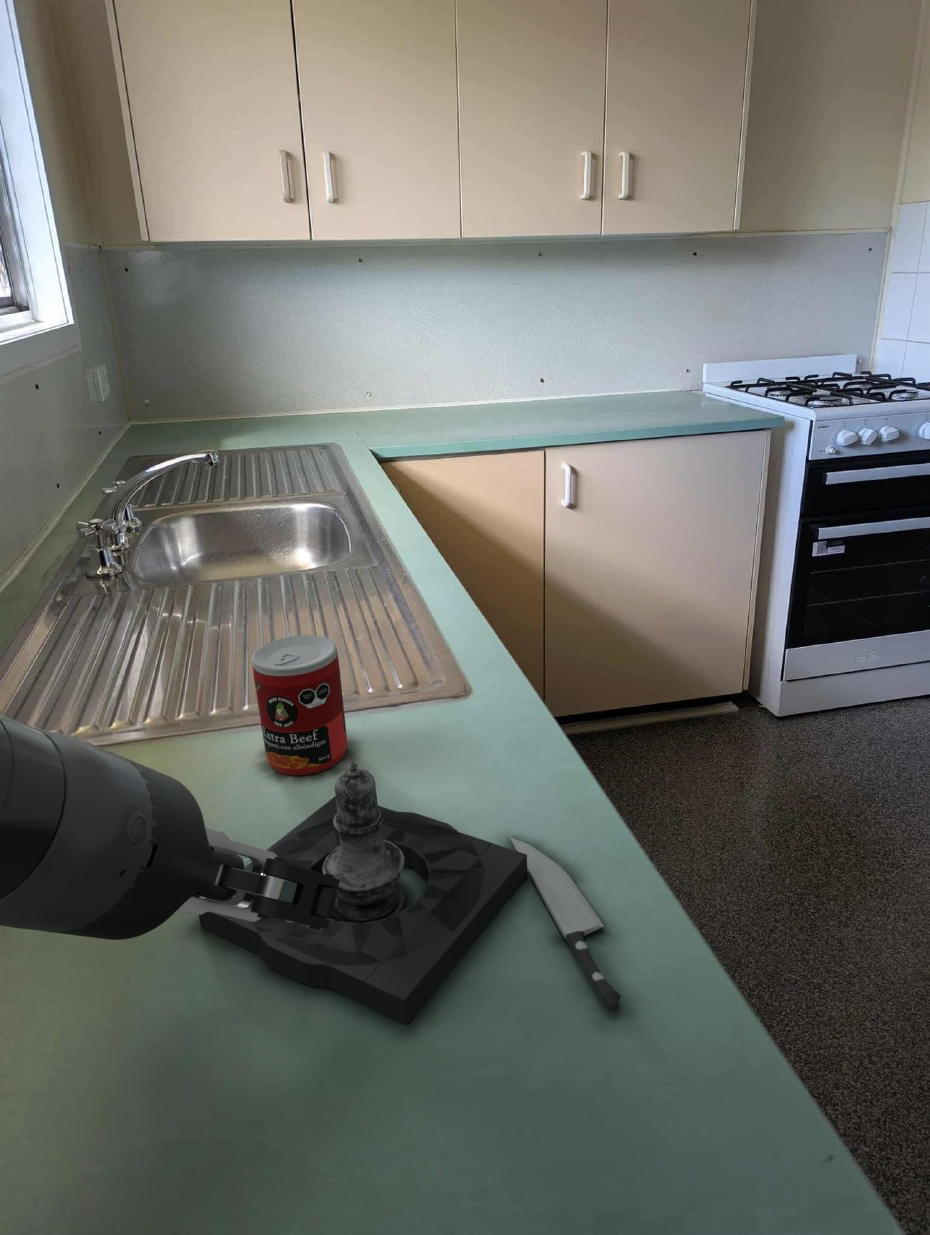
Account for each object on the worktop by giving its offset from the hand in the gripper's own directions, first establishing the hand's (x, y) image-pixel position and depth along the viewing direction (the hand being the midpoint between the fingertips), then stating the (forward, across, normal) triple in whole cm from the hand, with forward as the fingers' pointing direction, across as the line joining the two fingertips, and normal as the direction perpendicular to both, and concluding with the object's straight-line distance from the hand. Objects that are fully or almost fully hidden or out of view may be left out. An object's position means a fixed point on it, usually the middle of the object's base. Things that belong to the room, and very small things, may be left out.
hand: (261, 888), depth 50 cm
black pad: (+15, 0, +1) cm, 15 cm away
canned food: (+28, -15, +13) cm, 34 cm away
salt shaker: (+15, 0, +1) cm, 15 cm away
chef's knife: (+18, +14, +3) cm, 23 cm away
